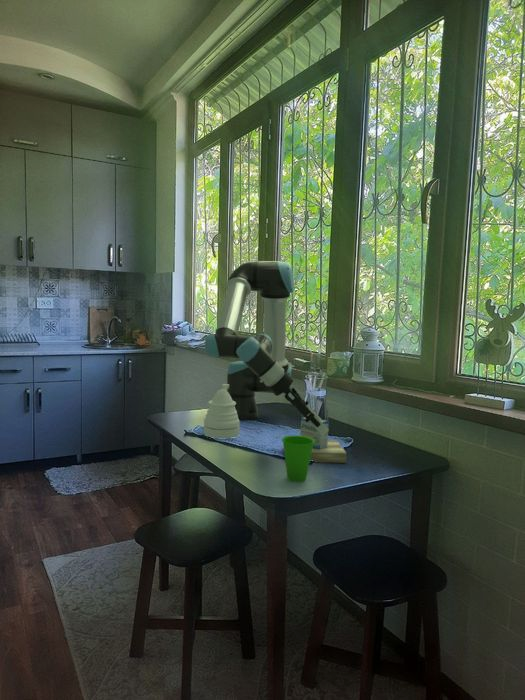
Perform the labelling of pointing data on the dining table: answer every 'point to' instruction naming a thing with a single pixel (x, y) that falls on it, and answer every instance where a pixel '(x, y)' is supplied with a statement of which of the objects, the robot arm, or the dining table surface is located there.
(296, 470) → the cup
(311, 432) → the medicine box
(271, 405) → the dining table surface
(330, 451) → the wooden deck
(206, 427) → the honey pot
